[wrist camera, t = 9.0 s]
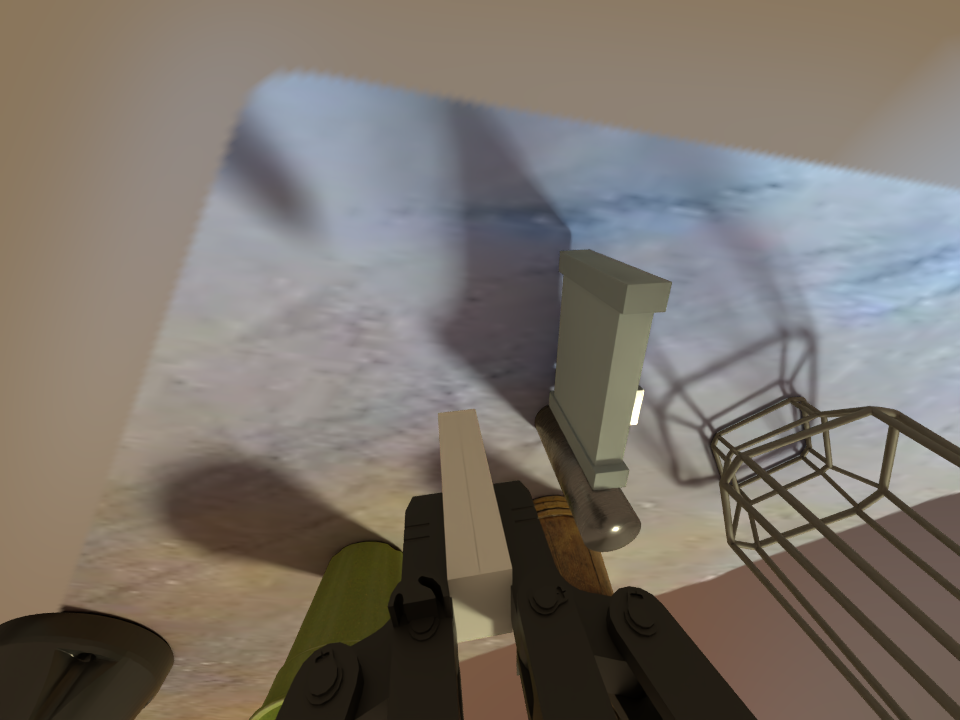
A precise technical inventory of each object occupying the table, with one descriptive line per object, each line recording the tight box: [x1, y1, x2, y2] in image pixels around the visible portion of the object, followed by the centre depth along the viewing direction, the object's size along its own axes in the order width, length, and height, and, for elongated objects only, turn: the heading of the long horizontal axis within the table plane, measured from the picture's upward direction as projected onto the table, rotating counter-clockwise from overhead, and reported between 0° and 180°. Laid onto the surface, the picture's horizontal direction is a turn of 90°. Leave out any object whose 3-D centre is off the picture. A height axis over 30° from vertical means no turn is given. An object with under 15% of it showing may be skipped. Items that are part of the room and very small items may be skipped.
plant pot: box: [249, 542, 403, 720], centre depth 27 cm, size 12×12×11 cm
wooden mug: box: [533, 496, 621, 720], centre depth 26 cm, size 9×14×18 cm, turn 28°
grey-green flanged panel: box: [549, 249, 672, 491], centre depth 19 cm, size 11×2×8 cm, turn 2°
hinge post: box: [535, 405, 641, 552], centre depth 23 cm, size 3×3×10 cm
